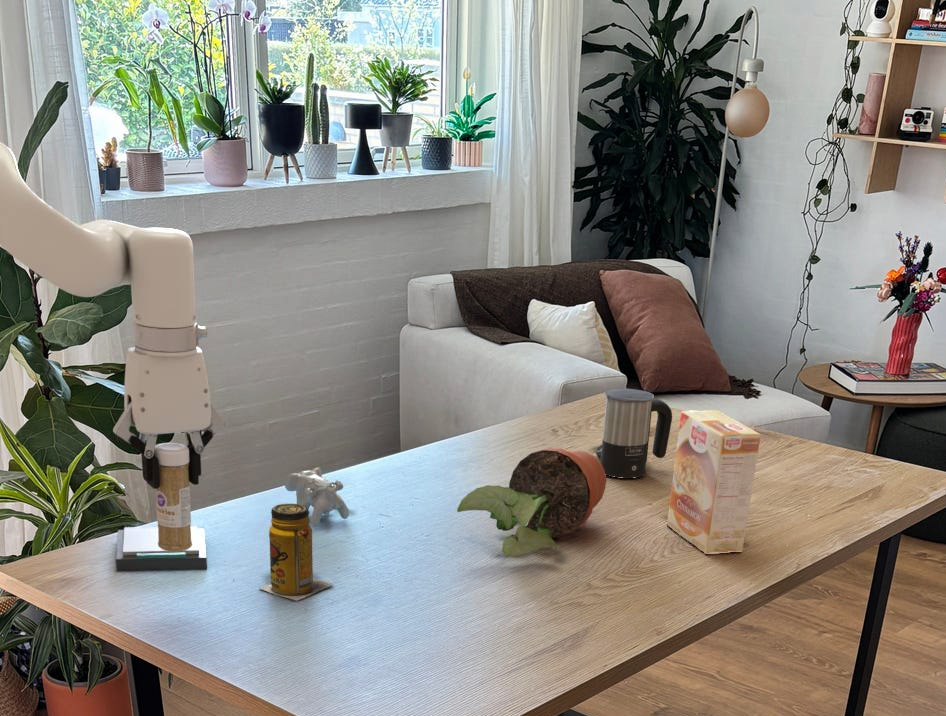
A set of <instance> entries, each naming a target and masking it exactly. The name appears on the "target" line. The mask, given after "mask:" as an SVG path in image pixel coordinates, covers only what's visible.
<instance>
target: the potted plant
mask: <svg viewBox="0 0 946 716" xmlns="http://www.w3.org/2000/svg"><path fill="white" fill-rule="evenodd" d="M606 486H607V476H606V475H605V471H604V469H603V467H602V464H601V462H600V460H599V458H598V457H596V456H595V455H594V454H591V453H589V452H587V451H582V450H566V449H563V448H556V447H555V448H553V447H549V448H545V449H541V450H538V451H535V452H531V453H530V454H528V455H527V456H525V457H524V458H523V459H521V460H519V462H518V464H517V465H516V466H515V468H514V469H513V471H512V473H511V478H510V480H509V483H508V487H507V486H501V485H490V484H489V485H484V486H481V487H477V488H475V489H474V490H472V491H471V492H469V493H467V495H465V497H463V498H462V499H461V501H460V503H459V505H458V506H457V509H456V511H457V513H461V512H467V511H468V512H469V511H485V512H489V513H490V519H493V520H495V521H496V523H495V524H496V525H495V527H496V528H497V530H498V531H500V530H501V531H503V532H509V531H511V530H513V529H515V527H516V526H517V525H518V524H520V525H519V526H518V527H517V529H516V532H515V535H514V534H511V535H509V536H507V537H506V538H505V539H504V540H503V542H502V553H503V554H504V556H505V557H512V558H515V557H518V556H525V555H527V554H528V553H532V552H534V551H537V550H540V549H543V548H551V547H552V548H554V549H556V550H558V546H557V543H556V542H555V541H554V539H555V538H559V537H564V536H567V535H569V534H572V533H573V532H574V531H577V529H579V528H581V527H582V526H584V524H586V521H587V520H588V519H589V518H590V517H591V515H592V512H593V509H594V508H595V507H596V506H598V504H599V503H600V502H601V500H602V499H603V496H604V494H605V492H606V491H605V490H606ZM553 537H555V538H553Z"/></svg>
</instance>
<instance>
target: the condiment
mask: <svg viewBox="0 0 946 716" xmlns="http://www.w3.org/2000/svg"><path fill="white" fill-rule="evenodd" d="M270 510H271V512H270V513H271V519H270V522H271V525H270V526H269V529H268V537H269V564H270V565H269V568H270V569H269V570H270V583H269V584H266V585H264V586H262V587H258V589H259V590H262V591H264V592H267V593H269V594H272V595H275V596H279V597H281V598H282V597H283V598H286V599H290V600H292V601H296V602H297V601H300V600H302V599H306V598H307V597H310V596H312V595H315V594H316V593H318V592H320V591H323V590H325V589H327V588H329V587H331V586H334V585H335V583H333V582H327V581H324V580H320V579H317V578H314V566H313V563H314V561H313V559H314V558H313V529H312V528H313V527H311V524H310V510H308V509H307V508H306V507H305V506H303V505H299V504H297V503H281V504H277V505H274V506H273V507H272V508H271V509H270Z"/></svg>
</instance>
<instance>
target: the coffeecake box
mask: <svg viewBox="0 0 946 716" xmlns="http://www.w3.org/2000/svg"><path fill="white" fill-rule="evenodd" d="M761 437H762V433H759V432H758V431H755V430H754V429H752V428H750V427H748V426H746V425H745V424H744V423H741V422H740V421H737V420H735V419H734V418H732V417H731V416H729V415H727V414H726V413H723V412H722V411H720V410H716V409H715V410H713V409H712V410H695V409H694V410H693V409H691V410H682V411H680V419H679V427H678V434H677V443H676V450H675V451H676V452H675V457H674V458H675V459H674V467H673V475H672V482H671V490H670V498H669V506H668V514H667V521H666V525H667V524H668V525H669V526H670V527H671V528H673V529H674V530H675V531H677V532H678V533H679V534H681V535H682V536H683V537H685V538H686V539H688V540H689V541H690V542H692V543H693V544H694V545H696V546H697V547H699V548H700V549H701V550H703V551H704V552H706V553H710V552H728V551H742V552H743V549H744V542H745V536H746V530H747V524H748V518H749V516H748V515H749V510H750V505H751V498H752V492H753V487H754V486H753V485H754V481H755V480H754V479H755V474H756V473H755V472H756V467H757V461H758V454H759V447H760V442H761Z"/></svg>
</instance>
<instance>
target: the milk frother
mask: <svg viewBox="0 0 946 716" xmlns="http://www.w3.org/2000/svg"><path fill="white" fill-rule="evenodd" d="M604 394H605V397H606V398H605V409H604V410H605V411H604V420H603V431H602V441H601V445H599V446H598V447H597V448H596V450H595V454H596V456H597V458H598V459H600V458H601V459H600V460H599V461H600V462H601V464H602V467H603V469H604V471H605V474H606V475H610V476H615V477H623V478H633V477H640V476H643V475H644V476H646V474H647V471H646V465H647V461H648V454H649V453H648V452H649V444H650V443H649V442H650V432H651V422H652V413H653V412H656V413H657V418H656V425H655V432H654V438H653V444H652V454H653V456H655V457H656V458H658V459H662V458H663V459H664V458H665V456H666V454H667V449H668V443H669V438H670V434H671V433H670V432H671V427H672V422H673V411H672V409H671V407H670V406H669V404H667V403H666V402H664V401H663V400H661V399H658V398H655V395H654V394H653V393H651V392H649V391H646V390H642V389H635V388H614V389H608V390H607V391H605V392H604ZM644 476H643V477H644ZM640 478H641V477H640Z"/></svg>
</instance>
